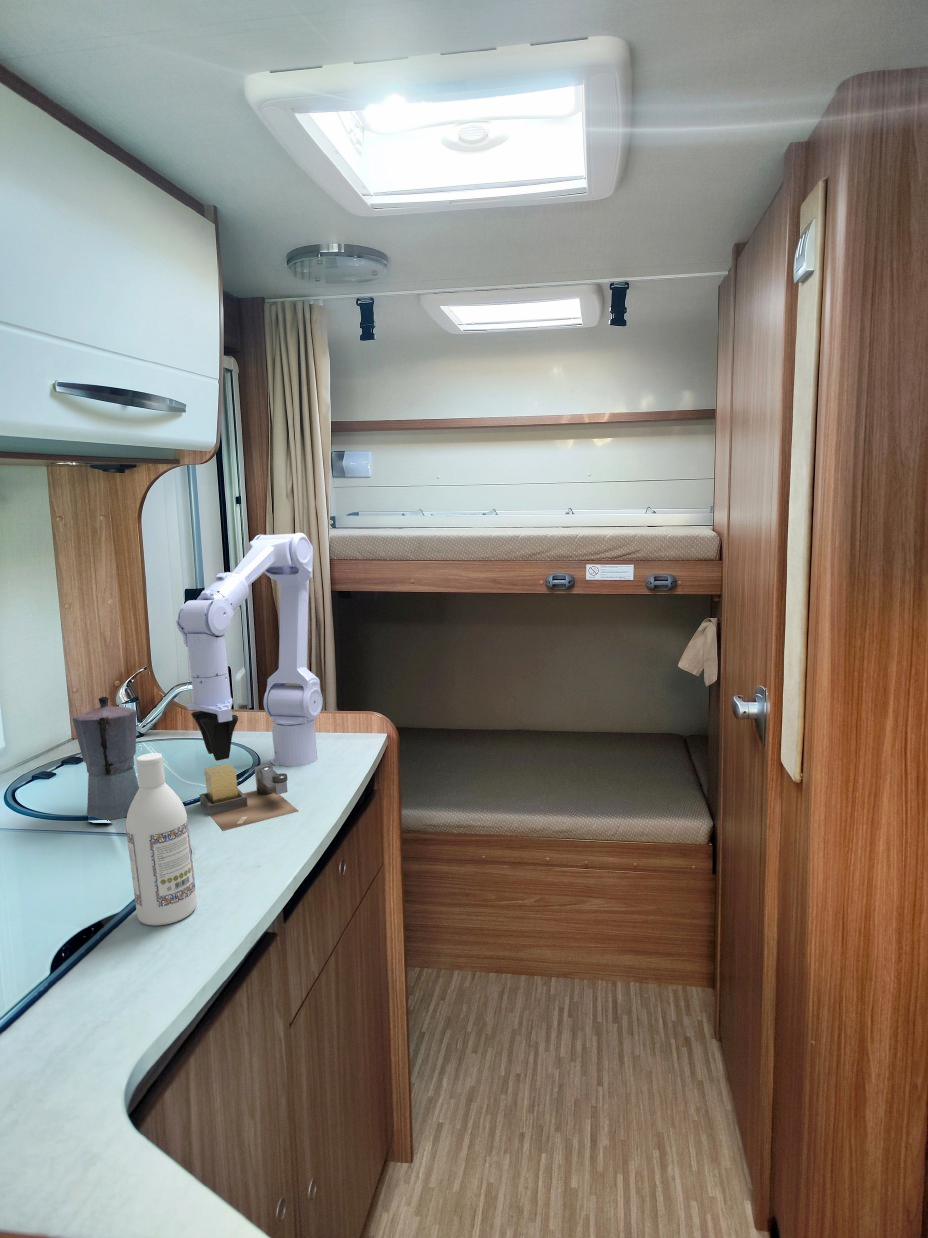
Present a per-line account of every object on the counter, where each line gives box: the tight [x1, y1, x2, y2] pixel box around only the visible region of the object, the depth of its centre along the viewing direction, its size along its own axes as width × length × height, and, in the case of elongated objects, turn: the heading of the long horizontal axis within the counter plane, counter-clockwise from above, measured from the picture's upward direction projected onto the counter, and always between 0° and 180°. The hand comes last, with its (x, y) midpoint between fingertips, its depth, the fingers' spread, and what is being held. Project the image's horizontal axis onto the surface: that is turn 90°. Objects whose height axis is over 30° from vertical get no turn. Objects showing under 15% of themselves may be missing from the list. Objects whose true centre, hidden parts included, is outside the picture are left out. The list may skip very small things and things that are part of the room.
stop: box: [204, 763, 239, 804], centre depth 129 cm, size 4×4×6 cm
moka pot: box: [72, 696, 140, 822], centre depth 128 cm, size 10×15×20 cm, turn 26°
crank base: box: [199, 787, 299, 832], centre depth 128 cm, size 14×12×3 cm
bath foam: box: [125, 752, 198, 926], centre depth 96 cm, size 7×7×20 cm
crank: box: [254, 763, 289, 795], centre depth 131 cm, size 11×3×5 cm, turn 32°
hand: (218, 755), depth 128 cm, fingers open, 4 cm apart
